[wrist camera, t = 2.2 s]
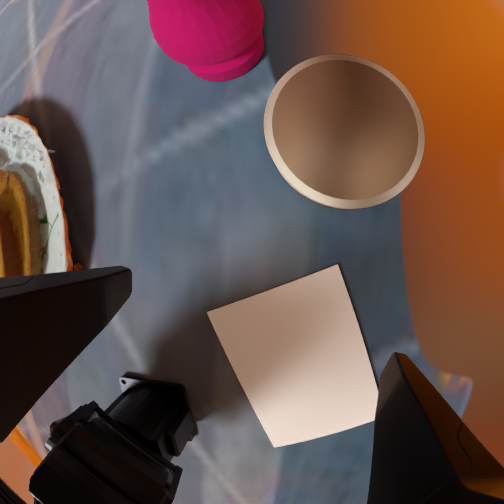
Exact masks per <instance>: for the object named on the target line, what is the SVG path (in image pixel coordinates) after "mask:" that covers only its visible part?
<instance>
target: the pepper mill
mask: <svg viewBox="0 0 504 504" xmlns="http://www.w3.org/2000/svg"><path fill="white" fill-rule="evenodd" d="M147 1H148V6H149V17H150V26H151V29H152V32H153V35H154V38H155V40H156V41H157V43H158V44H159V46H160V47H161V48H162V50H163V51H164V53H165V54H166V55H168V56H169V57H170V58H171V59H173V60H175V61H177V62H179V63H182V64H185V65H186V66H187V67H188V68H189V69H190V70H191V72H192V73H194V74H195V75H196V76H198V77H200V78H202V79H205V80H209V81H226V80H231V79H234V78H237V77H239V76H241V75H243V74H245V73H246V72H248V71H249V70H251V69H252V68H253V67H254V66H255V65H256V63H257V62H258V61H259V59H260V57H261V56H262V54H263V50H264V38H263V35H262V31H261V29H262V27H263V23H264V11H263V7H262V4H261V2H260V0H147Z"/></svg>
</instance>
